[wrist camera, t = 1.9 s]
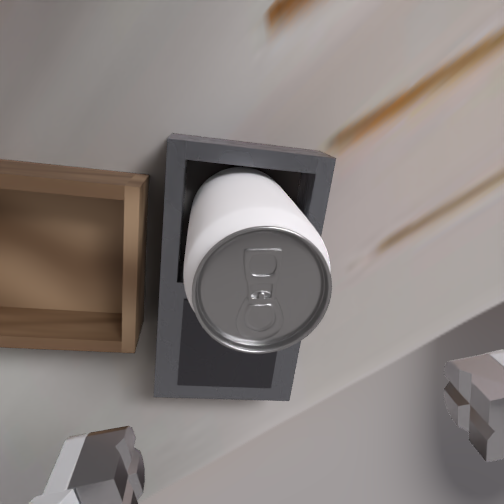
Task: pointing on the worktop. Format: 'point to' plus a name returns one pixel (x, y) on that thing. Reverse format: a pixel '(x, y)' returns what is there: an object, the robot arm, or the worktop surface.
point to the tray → (173, 291)
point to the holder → (71, 257)
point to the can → (254, 264)
